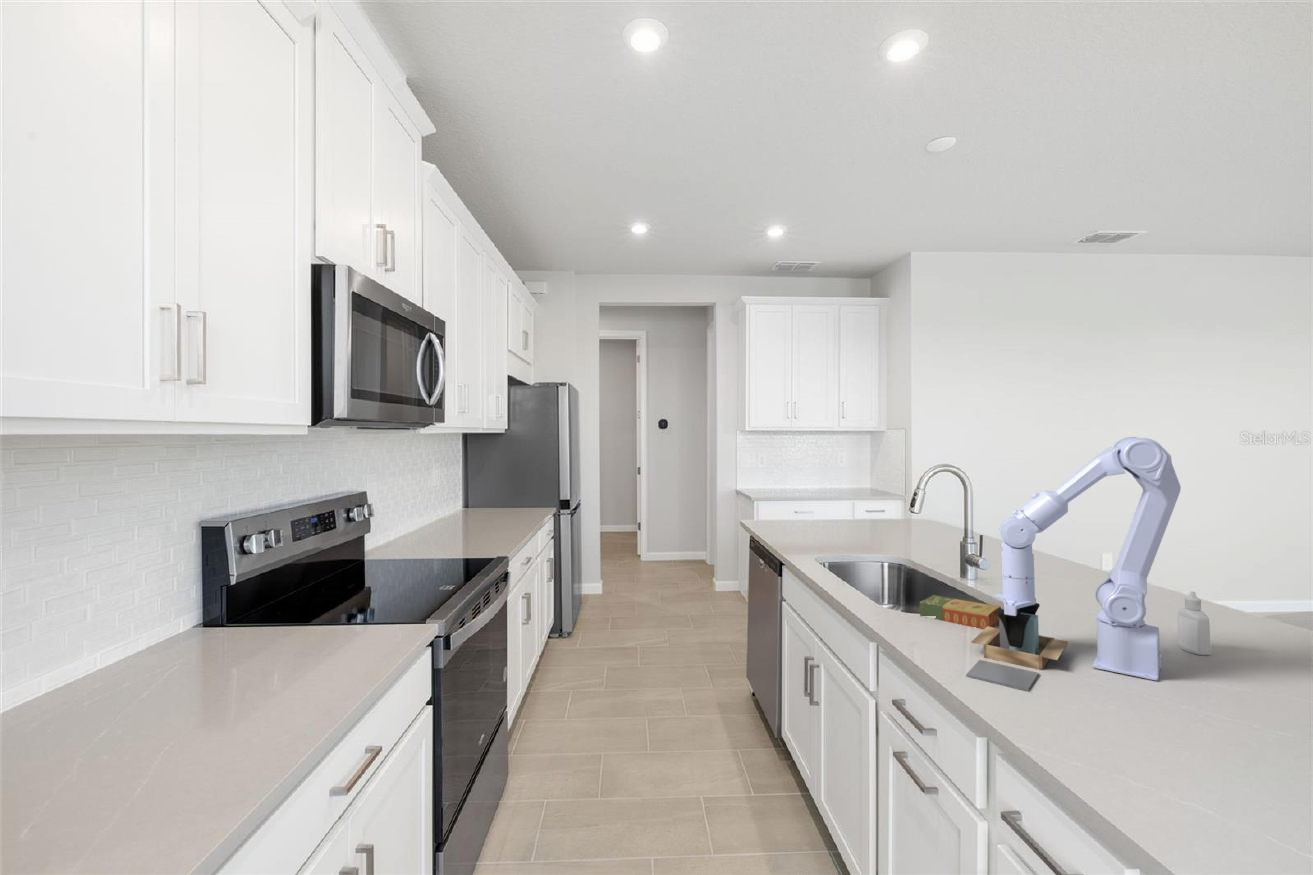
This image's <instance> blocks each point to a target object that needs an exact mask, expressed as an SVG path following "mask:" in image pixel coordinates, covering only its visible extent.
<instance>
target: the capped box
mask: <svg viewBox="0 0 1313 875" xmlns="http://www.w3.org/2000/svg"><path fill="white" fill-rule="evenodd" d="M1021 614H1025V615H1031V617H1030V619H1029V620H1028V623H1027V625H1026V628H1025V634H1024V641H1023V645H1022V648H1017V647H1012V646H1010V645H1009V643H1008V639H1007V635H1006V632H1005V628H1004V626H1003V623H1002V621H1001V620H1000V618H999V624H998V625H999V627H998V628H999V629H1000V644H999V647H1000V648H1005V649H1010V650H1015V651H1020V652H1025V653H1030V654H1034V655H1040V648H1039V635H1040V633H1039V615H1038V614H1035V615H1033V614H1027V613H1021Z"/></svg>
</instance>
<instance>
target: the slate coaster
mask: <svg viewBox="0 0 1313 875" xmlns="http://www.w3.org/2000/svg"><path fill="white" fill-rule="evenodd" d="M1039 675H1040V673H1039V672H1036V671H1032V670H1029V669H1022V668H1019V667H1014V666H1010V665H1009V666H1008V665H1005V664H1002V663H1001V664H1000V663H996V662H991V661H987V660H982V659H979V660H978V661H977V662H976V663H975V664H974V665H973V666H972V668H971V669H970V670H968V672H967V673H966V676H965V677H968V678H971V679H972V678H973V679H976V680H979V681H983V682H989V683H991V684H992V683H993V684H996V685H1000V686H1004V687H1008V688H1013V689H1017V690H1021V691H1026V692H1029V691H1030V689H1031V688H1032V686H1033V685H1034V683H1035V682H1036V680H1037V679H1038V677H1039Z"/></svg>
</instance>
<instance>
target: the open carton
mask: <svg viewBox="0 0 1313 875" xmlns="http://www.w3.org/2000/svg"><path fill="white" fill-rule="evenodd" d="M970 642H971V643H972V644H975V645H976V644H977V645H982V646H983V658H986V659H991V660H995V661H999V662H1005V663H1008V664H1013V665H1018V666H1022V667H1027V668H1032V669H1037V670H1039V671H1040V670H1042V671H1043V670H1044V668H1045V666H1046V665H1047V663H1048V662H1049V661H1050V660H1055V661H1058V660H1059V658H1060V656H1061V655H1062V653H1063V651H1065V649H1066V647H1067V645H1068V644H1069V641H1068V640H1063V639H1058V638H1055V637H1052V636H1044V635H1040V634H1039V649H1042V651H1041V652H1040V653H1039V655H1034V654H1030V653H1025V652H1020V651H1015V650H1010V649H1005V648H1000V628H999V627H994V628H993V627H988V626H987V627H986V628H985V629H982V631H981V632H980V633H978V635H976V637H974V639H972V640H971V641H970Z"/></svg>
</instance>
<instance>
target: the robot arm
mask: <svg viewBox="0 0 1313 875" xmlns="http://www.w3.org/2000/svg"><path fill="white" fill-rule="evenodd" d="M1126 472H1128V473H1129V474H1131V475H1132V477H1133V479H1135V481H1136V482H1137V483H1138V485H1139V486H1140V487H1141V489H1142V494H1141V496H1140V498H1139V501H1138V504H1137V506H1136V509H1135V512H1134V514H1133V517H1132V520H1131V523H1130V525H1129V526H1128V527H1129V528H1128V530H1127V534H1126V535H1125V539H1124V541H1123V544H1122V547H1121V550H1120V551H1119V555H1118V558H1117V560H1116V562H1115V564H1114V567H1113V568H1112V569H1111V570H1110V571H1109V572H1108V575H1107V578H1106V579H1105V580H1104V581H1103V582H1102V583H1101V584H1099V585H1098V586H1097V588H1096V591H1095V595H1094V596H1095V600H1096V602H1097V603H1098V605H1099V606H1100V607H1101V609H1100V611H1099V612H1098V613H1097V614H1096V641H1097V642H1096V646H1097V649H1096V650H1097V651H1096V652H1097V654H1096V657H1095V659H1094V662H1093V663H1092V667H1093V668H1094V669H1099V670H1103V671H1107V672H1113V673H1117V674H1118V673H1119V674H1122V675H1128V676H1132V677H1137V678H1141V679H1147V680H1151V681H1158V680H1159V677H1160V672H1161V669H1162V666H1163V659H1162V657H1161V649H1160V628H1159V627H1158V626H1155V625H1150V624H1147V623H1145V622H1146V621H1145V620H1144V618H1145V616H1146V615H1147V608H1146V603H1145V602H1146V601H1145V599H1146V596H1147V593H1148V584H1147V581H1148V576H1149V574H1150V571H1151V569H1152V566H1153V563H1154V561H1155V558H1156V556H1157V554H1158V551H1159V548H1160V546H1161V544H1162V543H1161V542H1162V540H1163V538H1164V535H1165V532H1166V529H1167V527H1168V524H1169V522H1170V519H1171V516H1172V514H1173V511H1174V509H1175V507H1176V504H1177V502H1178V499H1179V496H1180V493H1181V488H1182V487H1181V483H1180V480H1179V478H1178V476H1177V473H1176V470H1175V468H1174V466H1173V463H1172V455H1171V454H1170V453H1169V452H1168V450H1166V449H1165V448H1164V447H1163V446H1162V445H1161V444H1160V443H1159V442H1158V441H1157V440H1154V439H1151V438H1148V437H1137V436H1128V437H1124V438H1121V439H1119V440H1118V441H1117V442H1116V443H1114V445H1113V446H1109V447H1108V448H1106V449H1104V450H1102V451H1101V452H1099V453H1098V454H1097V455H1095V456H1094V457H1093V458H1092V459H1090V460H1089V461H1087V463H1086V464H1085V465H1083V466H1082V467H1081V468H1079V470H1077V471H1076V472H1075V473H1074V474H1073V475H1071V476H1070V477H1069V478H1068V479H1067V480H1066V481H1064V482H1063V483H1062V484H1061V485H1060V486H1058V487H1057V488H1056V489H1055V490H1042V491H1041V492H1040V493H1038V492H1034V493H1033V494H1032V495H1031V496H1030V497H1031V498H1032V499H1031V500H1029V501H1028V502H1027V503H1026V504H1024V505H1023V506H1022V507H1020V508H1019V509H1018V510H1017V509H1013V511H1012V512H1011V513H1012V515H1013V516H1009V517H1006V518H1005V519H1004V520H1003V521H1002V522H1001V524H1000V528H999V533H1000V536H1001V539H1002V540H1001V541H1002V542H1001V544H1000V545H1001V546H1000V547H1001V550H1002V551H1001V552H1000V562H1001V593H1000V592H998V593H996V594H995V599H997V600H1001V601H1002V603H1003V608H1001V609H998V610H997V614H998V616H999V618H1000V620H1001V621H1002V623H1003V626H1004V628H1005V632H1006V635H1007V639H1008V643H1009V645H1010V646H1012V647H1017V648H1022V645H1023V641H1024V634H1025V628H1026V625H1027V623H1028V620H1029V619H1030V617H1031V615H1025V614H1021V613H1027V614H1033V615H1037V612H1038V609H1040V606H1041V605H1040V604H1039V603H1037V598H1036V588H1035V586H1036V585H1035V557H1034V556H1035V555H1034V553H1033V543H1034V541H1035V539H1036V534H1039V533H1041V534H1042V533H1043V532H1044V531H1045V530H1047V529H1048V528H1049V527H1050V526H1052V525H1053V524H1055V523H1056V522H1057V521H1058V520H1060V519H1061V518H1062V517H1063V516H1065V515H1067V514H1068V512H1069V503H1070V502H1071V501H1073V500H1074V499H1076V498H1077V497H1078V496H1080V495H1081V494H1082V493H1084V492H1085V491H1087V490H1088V489H1089V488H1091V487H1092V486H1093V485H1095V484H1097V483H1098V482H1099V481H1100V480H1102V479H1105V478H1106V477H1112V476H1117V475H1124V474H1126Z"/></svg>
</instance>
